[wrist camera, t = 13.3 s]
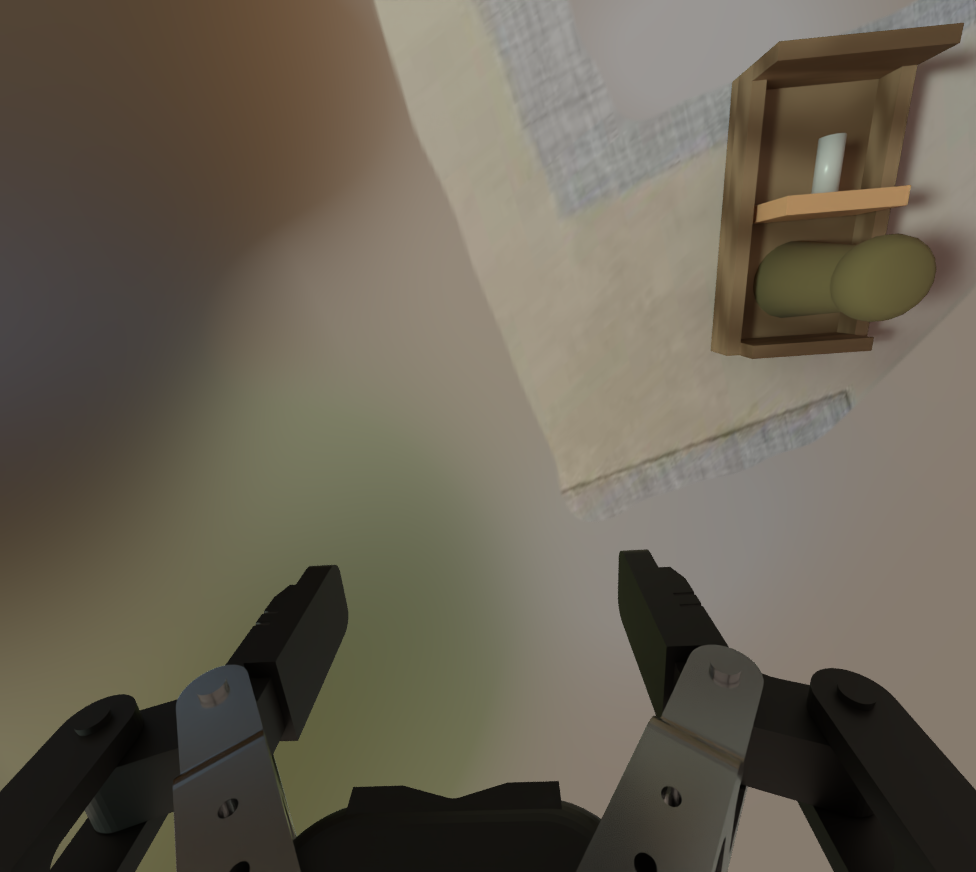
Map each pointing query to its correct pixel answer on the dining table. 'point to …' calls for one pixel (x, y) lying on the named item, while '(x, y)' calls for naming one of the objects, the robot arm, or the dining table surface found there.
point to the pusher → (830, 192)
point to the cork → (845, 278)
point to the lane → (810, 170)
